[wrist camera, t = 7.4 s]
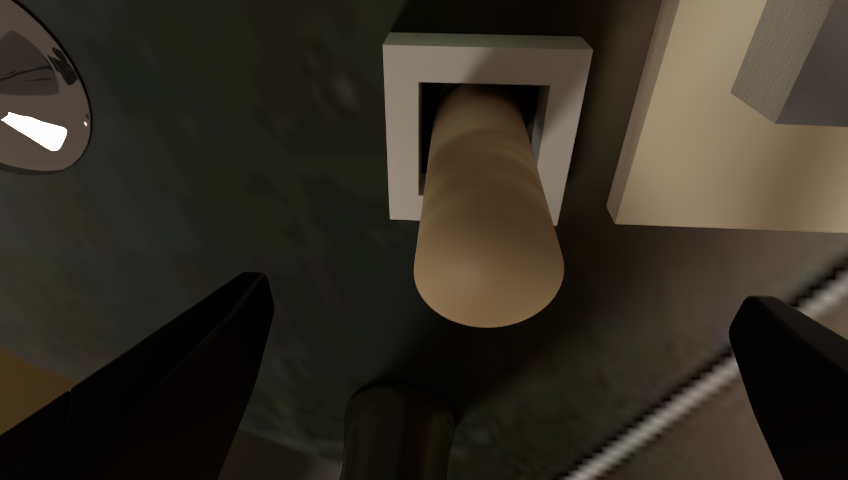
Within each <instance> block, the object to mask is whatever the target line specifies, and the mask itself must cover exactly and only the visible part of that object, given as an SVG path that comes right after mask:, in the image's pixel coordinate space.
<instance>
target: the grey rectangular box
mask: <svg viewBox="0 0 848 480" xmlns="http://www.w3.org/2000/svg"><path fill="white" fill-rule="evenodd" d="M730 93H731V94H733V95H734V96H735V97H737V98H738V99H740V100H741V101H743V102H744V103H746V104H747V105H748V106H750V107H751V108H753V109H754V110H756V111H757V112H758V113H760V114H761V115H763V116H764V117H766V118H767V119H768V120H770V121H771V122H773V123H774V124H786V125H810V126H835V127H848V0H767V2H766V4H765V7H764V9H763V12H762V14H761V17H760V19H759V22H758V24H757V27H756V29H755V32H754V34H753V37H752V39H751V42H750V44H749V47H748V49H747V52H746V54H745V57H744V59H743V62H742V64H741V67H740V69H739V72H738V74H737V77H736V79H735V82H734V84H733V87H732V89H731V92H730Z"/></svg>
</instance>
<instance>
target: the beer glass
mask: <svg viewBox="0 0 848 480" xmlns="http://www.w3.org/2000/svg"><path fill="white" fill-rule="evenodd" d="M455 424H456V421H455V416H454V412H453V410H452V408H451V407H450V406H449V404H448V403H447V402H446V401H445V400H444V399H442V398H441V397H440V396H438V395H437V394H435V393H433V392H431V391H429V390H427V389H424V388H421V387H418V386H414V385H409V384H399V383H390V384H381V385H376V386H372V387H369V388H367V389H364V390H362V391H361V392H359V393H357V394H356V395H355V396H354V397H353V398H352V399H351V400H350V401H349V403H348V405H347V407H346V410H345V416H344V448H343V460H342V465H341V471H340V476H339V480H447V472H448V464H449V457H450V452H451V448H452V443H453V438H454V433H455Z"/></svg>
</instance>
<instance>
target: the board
mask: <svg viewBox="0 0 848 480" xmlns="http://www.w3.org/2000/svg"><path fill="white" fill-rule="evenodd" d="M766 2H767V0H662V2H661V6H660V10H659V13H658V17H657V21H656V25H655V28H654V32H653V36H652V39H651V43H650V47H649V50H648V54H647V58H646V61H645V65H644V69H643V72H642V76H641V80H640V83H639V87H638V91H637V95H636V98H635V102H634V106H633V109H632V113H631V117H630V120H629V124H628V128H627V131H626V135H625V139H624V142H623V146H622V150H621V153H620V157H619V161H618V165H617V168H616V172H615V176H614V179H613V183H612V187H611V190H610V194H609V198H608V201H607V205H606V207H607V209H608V211H609V213H610V215H611V217H612V219H613V221H614V223H615V224H627V225H653V226H679V227H705V228H731V229H757V230H784V231H810V232H836V233H848V127H835V126H810V125H786V124H774V123H773V122H771V121H770V120H768V119H767V118H766V117H764V116H763V115H761V114H760V113H758V112H757V111H756V110H754V109H753V108H751V107H750V106H748V105H747V104H746V103H744V102H743V101H741V100H740V99H738V98H737V97H735V96H734V95H733V94H731V93H730V92H731V89H732V87H733V84H734V82H735V79H736V77H737V74H738V72H739V69H740V67H741V64H742V62H743V59H744V57H745V54H746V52H747V49H748V47H749V44H750V42H751V39H752V37H753V34H754V32H755V29H756V27H757V24H758V22H759V19H760V17H761V14H762V12H763V9H764V7H765V4H766Z"/></svg>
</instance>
